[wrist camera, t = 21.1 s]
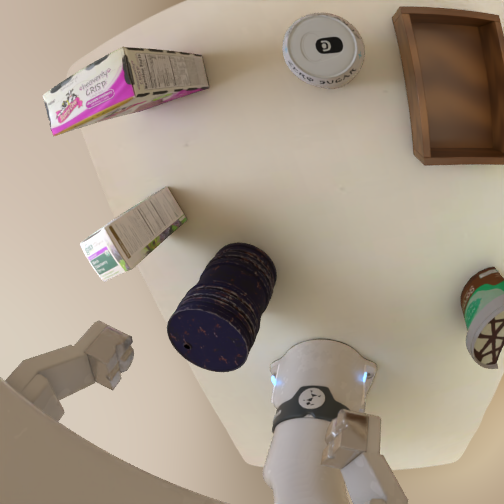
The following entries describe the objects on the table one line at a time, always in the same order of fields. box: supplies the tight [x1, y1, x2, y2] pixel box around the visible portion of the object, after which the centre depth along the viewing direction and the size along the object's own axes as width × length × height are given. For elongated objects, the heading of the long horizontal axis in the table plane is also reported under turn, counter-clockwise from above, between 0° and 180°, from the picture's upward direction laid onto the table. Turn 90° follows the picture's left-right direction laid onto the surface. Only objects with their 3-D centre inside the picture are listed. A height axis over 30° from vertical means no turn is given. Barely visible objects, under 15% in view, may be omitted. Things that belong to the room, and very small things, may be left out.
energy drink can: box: [282, 13, 365, 89], centre depth 24 cm, size 6×6×15 cm
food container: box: [461, 267, 504, 369], centre depth 34 cm, size 12×6×10 cm, turn 12°
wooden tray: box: [392, 7, 504, 165], centre depth 25 cm, size 17×12×6 cm
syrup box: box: [80, 187, 187, 282], centre depth 39 cm, size 6×6×14 cm
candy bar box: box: [43, 47, 209, 136], centre depth 29 cm, size 11×5×16 cm, turn 103°
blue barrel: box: [167, 243, 277, 372], centre depth 41 cm, size 10×10×15 cm
